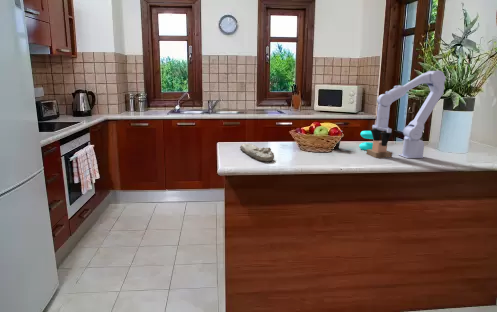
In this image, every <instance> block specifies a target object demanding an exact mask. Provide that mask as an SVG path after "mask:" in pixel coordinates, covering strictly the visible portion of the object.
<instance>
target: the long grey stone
mask: <svg viewBox="0 0 497 312" xmlns="http://www.w3.org/2000/svg"><path fill="white" fill-rule="evenodd" d="M239 148H240V150H241V151H243V153H245V154H246V155H247V156H250V157H252V158H253V159H255V160H257V161H262V162H272V161H274V159H275V153H274V152H273V151H272V148H271V147H258V146H256V145H253V144H252V143H243V144H240V147H239Z"/></svg>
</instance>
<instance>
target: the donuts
mask: <svg viewBox="0 0 497 312" xmlns="http://www.w3.org/2000/svg"><path fill="white" fill-rule="evenodd" d="M360 136H361V137H362V138H363V139H367V140H368V139H369V140H373V135H372V132H371V130H362V131H361V132H360ZM358 145H359V146H358V147H359V149H361V150H362V151H367V149H372V148H373V142H370V141H369V142H368V141H367V142H365V141H364V142H361V143H360V144H358Z"/></svg>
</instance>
